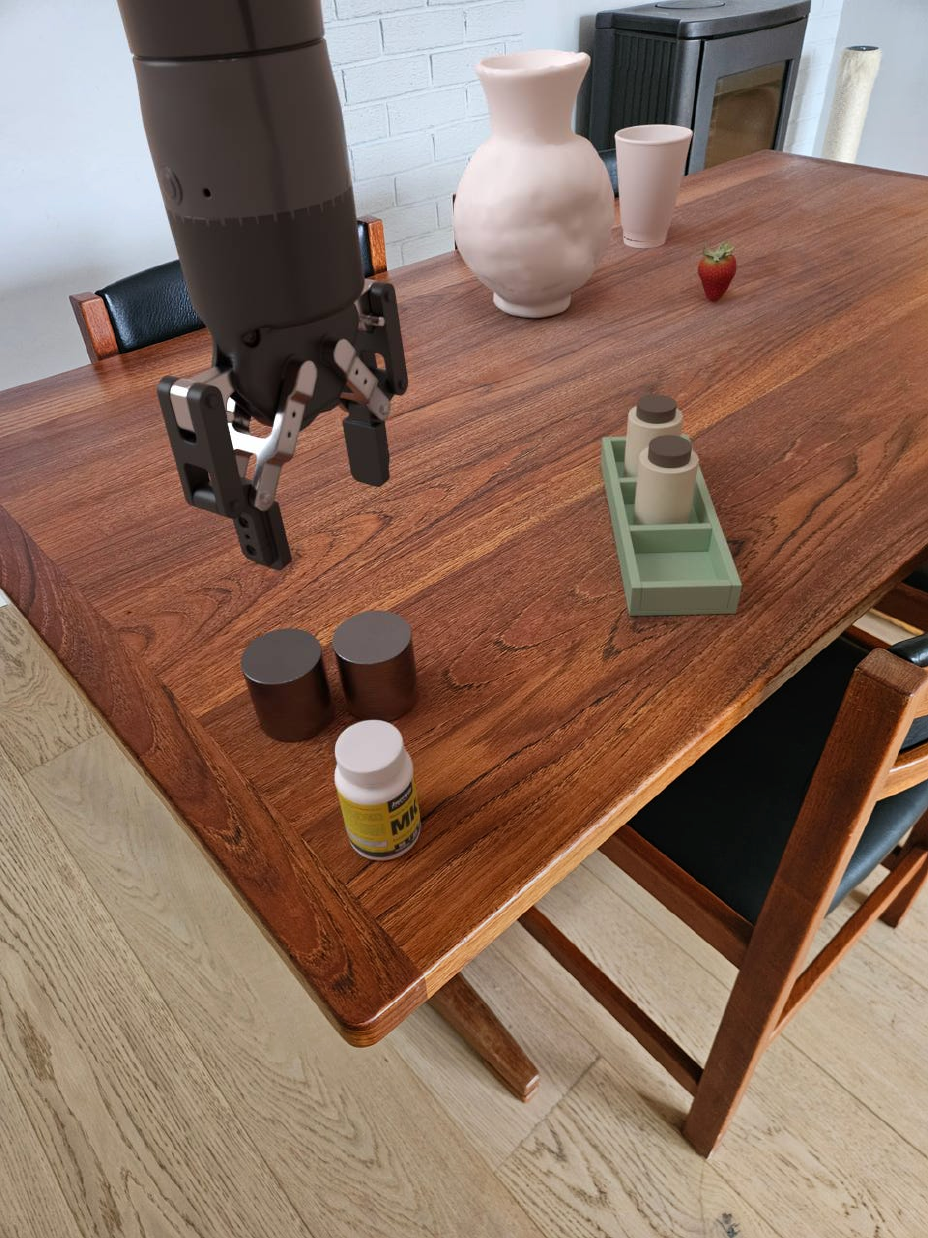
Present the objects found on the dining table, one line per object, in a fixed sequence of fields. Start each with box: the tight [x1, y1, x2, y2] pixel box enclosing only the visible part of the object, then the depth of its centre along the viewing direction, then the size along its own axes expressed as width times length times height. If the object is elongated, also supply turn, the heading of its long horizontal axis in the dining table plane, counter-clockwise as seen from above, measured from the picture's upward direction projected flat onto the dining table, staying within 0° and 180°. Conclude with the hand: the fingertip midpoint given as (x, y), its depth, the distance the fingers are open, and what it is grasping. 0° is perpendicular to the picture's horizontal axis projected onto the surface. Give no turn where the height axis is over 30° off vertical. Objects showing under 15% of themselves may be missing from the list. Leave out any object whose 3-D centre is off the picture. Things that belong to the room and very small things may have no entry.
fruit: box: [697, 240, 738, 303], centre depth 114 cm, size 5×5×8 cm
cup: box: [614, 124, 694, 249], centre depth 132 cm, size 12×12×16 cm
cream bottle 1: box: [623, 393, 684, 478], centre depth 79 cm, size 5×5×8 cm
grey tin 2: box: [331, 609, 420, 722], centre depth 60 cm, size 6×6×6 cm
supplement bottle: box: [334, 720, 422, 861], centre depth 50 cm, size 5×5×8 cm
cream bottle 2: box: [633, 435, 700, 525], centre depth 73 cm, size 5×5×8 cm
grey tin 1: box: [239, 627, 336, 743], centre depth 59 cm, size 6×6×6 cm
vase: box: [452, 48, 615, 319], centre depth 109 cm, size 19×21×30 cm
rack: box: [599, 433, 743, 617], centre depth 75 cm, size 9×24×3 cm, turn 178°
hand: (325, 519), depth 44 cm, fingers open, 8 cm apart
